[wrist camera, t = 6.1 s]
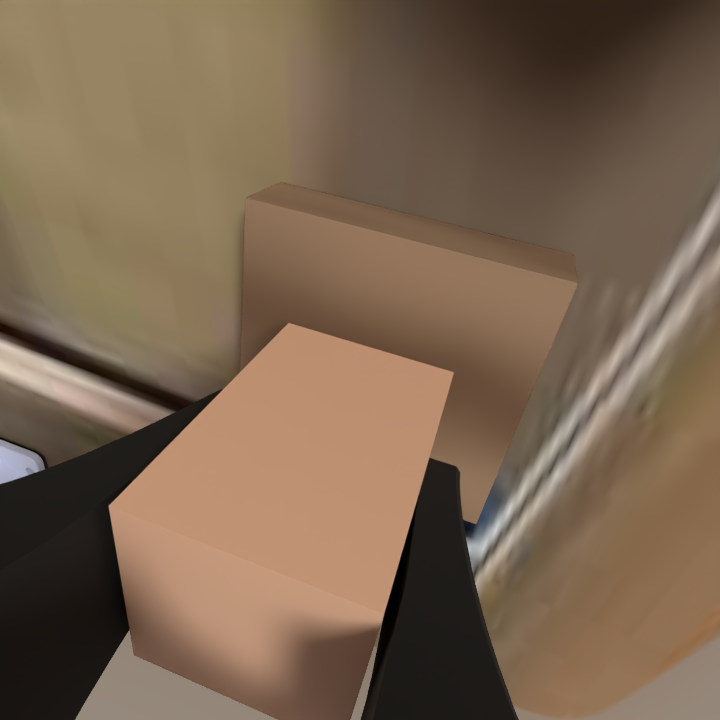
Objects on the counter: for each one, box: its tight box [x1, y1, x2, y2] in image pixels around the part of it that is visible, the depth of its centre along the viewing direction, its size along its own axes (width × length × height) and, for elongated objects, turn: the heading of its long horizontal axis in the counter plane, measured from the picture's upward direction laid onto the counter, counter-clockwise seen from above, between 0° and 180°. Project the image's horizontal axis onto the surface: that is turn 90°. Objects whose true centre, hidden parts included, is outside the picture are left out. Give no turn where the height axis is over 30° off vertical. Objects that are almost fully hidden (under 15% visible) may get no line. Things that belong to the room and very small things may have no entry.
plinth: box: [240, 182, 578, 524], centre depth 15 cm, size 8×8×2 cm
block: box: [109, 323, 454, 720], centre depth 10 cm, size 4×4×6 cm
